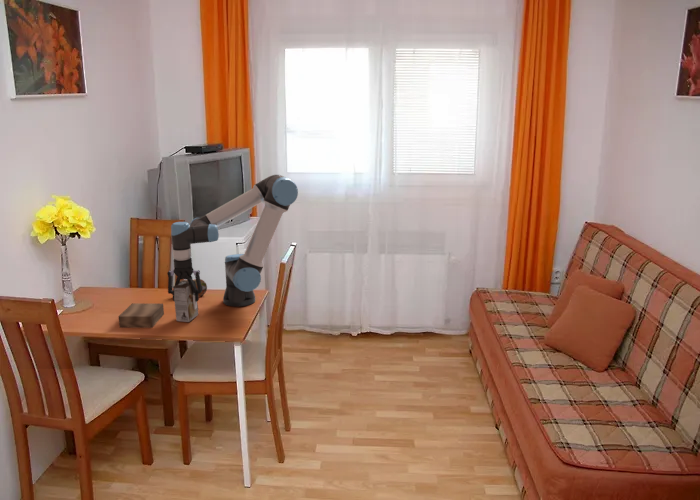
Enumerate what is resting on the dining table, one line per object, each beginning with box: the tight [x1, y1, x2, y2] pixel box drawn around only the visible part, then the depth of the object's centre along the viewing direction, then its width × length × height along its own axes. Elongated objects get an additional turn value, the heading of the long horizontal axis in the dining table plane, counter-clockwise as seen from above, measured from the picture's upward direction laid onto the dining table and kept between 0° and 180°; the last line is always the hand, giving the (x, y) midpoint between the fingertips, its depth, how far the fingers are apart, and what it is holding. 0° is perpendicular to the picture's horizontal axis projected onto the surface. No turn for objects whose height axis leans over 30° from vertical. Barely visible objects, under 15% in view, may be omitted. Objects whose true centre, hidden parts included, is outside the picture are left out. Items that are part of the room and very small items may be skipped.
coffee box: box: [172, 279, 199, 323], centre depth 259 cm, size 9×6×16 cm
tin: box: [180, 278, 208, 297], centre depth 290 cm, size 15×3×8 cm, turn 101°
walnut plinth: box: [117, 302, 165, 329], centre depth 258 cm, size 14×16×5 cm
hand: (186, 308), depth 259 cm, fingers closed on coffee box, 7 cm apart
